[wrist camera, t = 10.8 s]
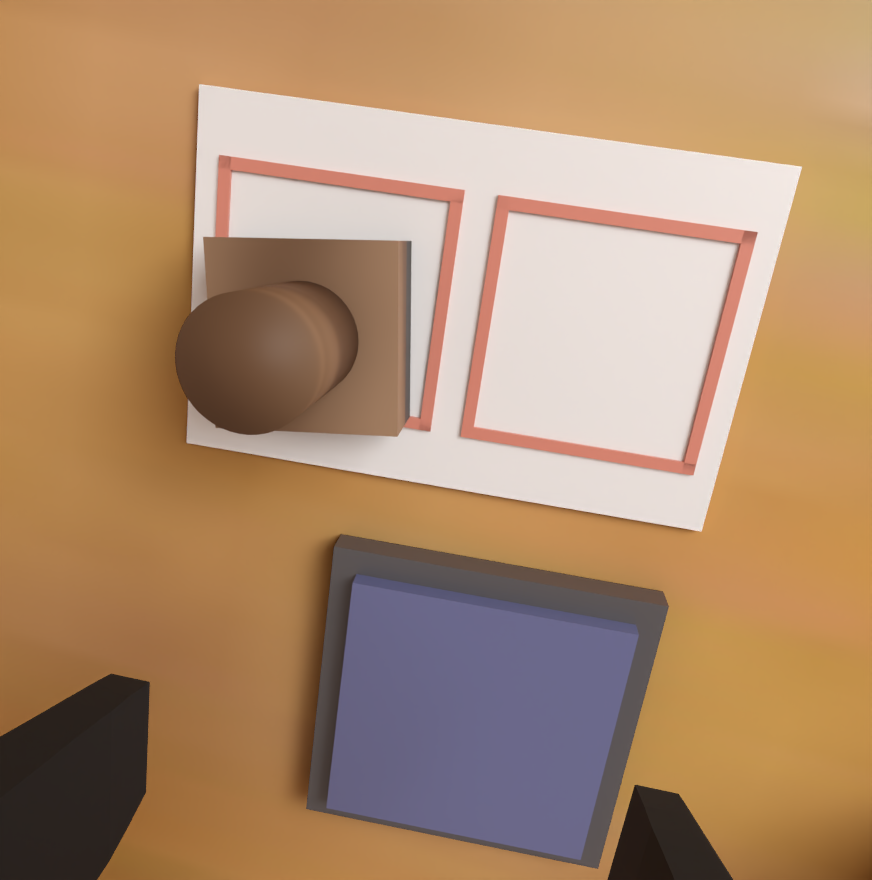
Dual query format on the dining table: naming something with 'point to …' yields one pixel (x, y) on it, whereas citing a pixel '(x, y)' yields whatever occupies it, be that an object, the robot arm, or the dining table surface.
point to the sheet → (518, 293)
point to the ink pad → (479, 698)
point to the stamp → (301, 336)
